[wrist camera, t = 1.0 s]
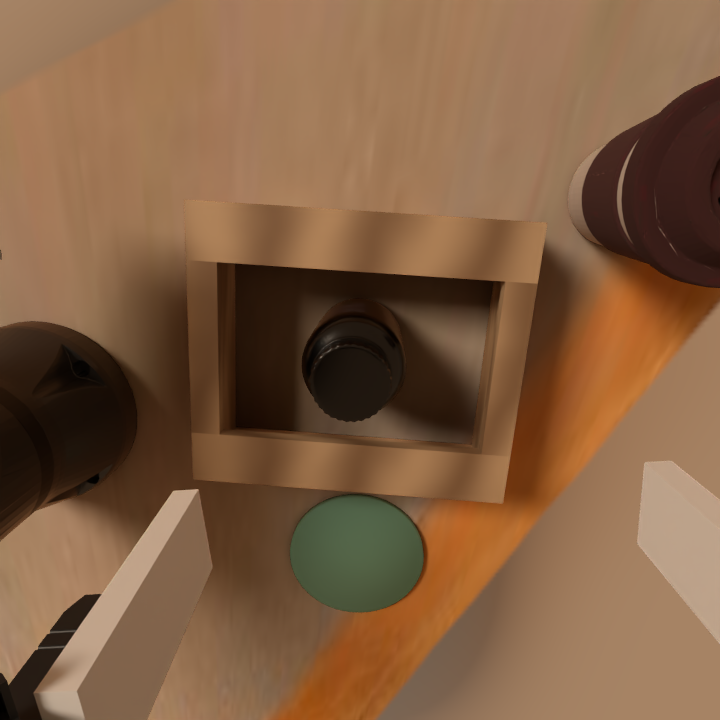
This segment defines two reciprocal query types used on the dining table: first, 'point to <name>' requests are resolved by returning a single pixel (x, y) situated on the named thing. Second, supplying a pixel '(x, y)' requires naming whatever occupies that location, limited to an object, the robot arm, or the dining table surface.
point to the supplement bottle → (355, 360)
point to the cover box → (361, 254)
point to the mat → (356, 553)
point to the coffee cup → (659, 190)
